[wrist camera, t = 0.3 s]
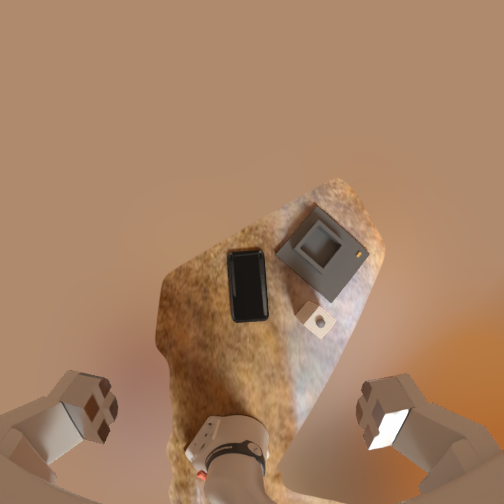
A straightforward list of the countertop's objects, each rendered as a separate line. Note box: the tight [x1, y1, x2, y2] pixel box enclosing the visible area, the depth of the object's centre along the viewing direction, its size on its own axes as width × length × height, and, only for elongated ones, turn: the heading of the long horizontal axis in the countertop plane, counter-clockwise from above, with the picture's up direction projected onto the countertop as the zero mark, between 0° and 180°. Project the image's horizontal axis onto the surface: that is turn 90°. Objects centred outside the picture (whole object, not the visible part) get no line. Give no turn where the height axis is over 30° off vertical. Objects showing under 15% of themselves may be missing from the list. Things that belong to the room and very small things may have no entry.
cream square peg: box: [295, 300, 336, 339], centre depth 54 cm, size 4×4×12 cm
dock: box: [276, 206, 370, 303], centre depth 59 cm, size 14×16×4 cm
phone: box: [228, 250, 269, 323], centre depth 60 cm, size 8×1×15 cm
